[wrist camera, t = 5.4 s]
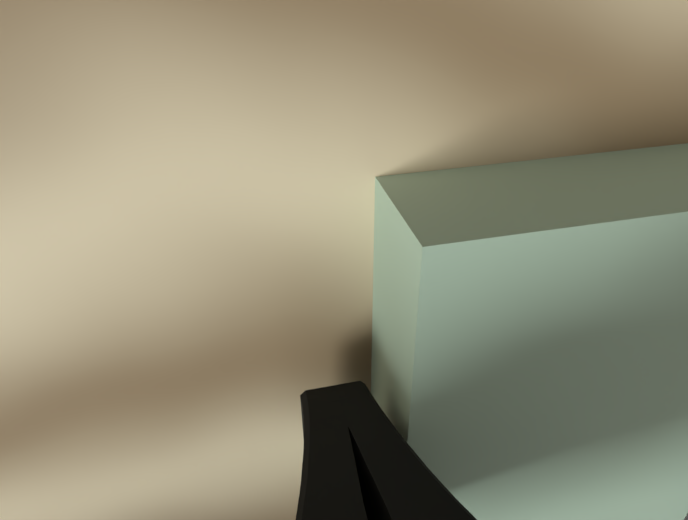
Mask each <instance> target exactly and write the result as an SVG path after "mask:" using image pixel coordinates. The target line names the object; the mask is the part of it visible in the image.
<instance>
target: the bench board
mask: <svg viewBox="0 0 688 520" xmlns="http://www.w3.org/2000/svg"><path fill="white" fill-rule="evenodd" d="M685 143H688V0H0V520H296V513H297V506H298V500H299V493H300V485H301V474H302V463H303V450H304V438H303V425H302V413H301V400H300V395H301V394H302V393H303V392H304V391H305V390H310V389H316V388H321V387H327V386H333V385H338V384H344V383H350V382H355V381H362V382H363V383H365V384H366V386H367V388H368V389H369V391H370V392H371V359H372V309H373V259H374V209H375V177H378V176H387V175H397V174H406V173H415V172H424V171H434V170H443V169H452V168H462V167H471V166H480V165H490V164H499V163H508V162H518V161H527V160H536V159H545V158H555V157H564V156H573V155H583V154H592V153H601V152H611V151H620V150H629V149H639V148H648V147H657V146H666V145H676V144H685Z"/></svg>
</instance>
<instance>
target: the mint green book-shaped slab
mask: <svg viewBox="0 0 688 520" xmlns="http://www.w3.org/2000/svg"><path fill="white" fill-rule="evenodd" d="M371 394H372V396H373V397H374V399H375V400H376V402H377V403H378V404H379V406H380V407H381V409H382V410H383V412H384V413H385V414H386V416H387V417H388V418H389V420H390V421H391V422H392V424H393V425H394V426H395V428H396V429H397V430H398V432H399V433H400V434H401V436H402V437H403V438H404V439H405V441H406V442H407V443H408V444H409V446H410V447H411V448H412V449H413V450H414V452H415V453H416V454H417V455H418V456H419V458H420V459H421V460H422V461H423V462H424V464H425V465H426V466H427V467H428V468H429V469H430V470H431V472H432V473H433V474H434V475H435V476H436V477H437V478H438V480H439V481H440V482H441V483H442V484H443V485H444V486H445V487H446V488H447V489H448V490H449V491H450V492H451V494H452V495H453V496H454V497H455V498H456V499H457V500H458V501H459V502H460V503H461V504H462V505H463V506H464V507H465V508H466V509H467V510H468V511H469V512H470V513H471V514H472V515H473V516H474V517H475V518H476V519H477V520H684V518H685V517H686V515H687V513H688V143H685V144H676V145H666V146H657V147H648V148H639V149H629V150H620V151H611V152H601V153H592V154H583V155H573V156H564V157H555V158H545V159H536V160H527V161H518V162H508V163H499V164H490V165H480V166H471V167H462V168H452V169H443V170H434V171H424V172H415V173H406V174H397V175H387V176H378V177H375V209H374V259H373V309H372V359H371Z"/></svg>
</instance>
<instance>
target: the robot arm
mask: <svg viewBox="0 0 688 520" xmlns="http://www.w3.org/2000/svg"><path fill="white" fill-rule="evenodd" d="M300 400H301V413H302V425H303V438H304V450H303V463H302V474H301V485H300V493H299V500H298V506H297V513H296V520H477V519H476V518H475V517H474V516H473V515H472V514H471V513H470V512H469V511H468V510H467V509H466V508H465V507H464V506H463V505H462V504H461V503H460V502H459V501H458V500H457V499H456V498H455V497H454V496H453V495H452V494H451V492H450V491H449V490H448V489H447V488H446V487H445V486H444V485H443V484H442V483H441V482H440V481H439V480H438V478H437V477H436V476H435V475H434V474H433V473H432V472H431V470H430V469H429V468H428V467H427V466H426V465H425V464H424V462H423V461H422V460H421V459H420V458H419V456H418V455H417V454H416V453H415V452H414V450H413V449H412V448H411V447H410V446H409V444H408V443H407V442H406V441H405V439H404V438H403V437H402V436H401V434H400V433H399V432H398V430H397V429H396V428H395V426H394V425H393V424H392V422H391V421H390V420H389V418H388V417H387V416H386V414H385V413H384V412H383V410H382V409H381V407H380V406H379V404H378V403H377V402H376V400H375V399H374V397H373V396H372V394H371V392H370V391H369V389H368V388H367V386H366V384H365V383H363V382H362V381H355V382H350V383H344V384H338V385H333V386H327V387H321V388H316V389H310V390H305V391H304V392H303V393H302V394H301V395H300Z"/></svg>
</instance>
